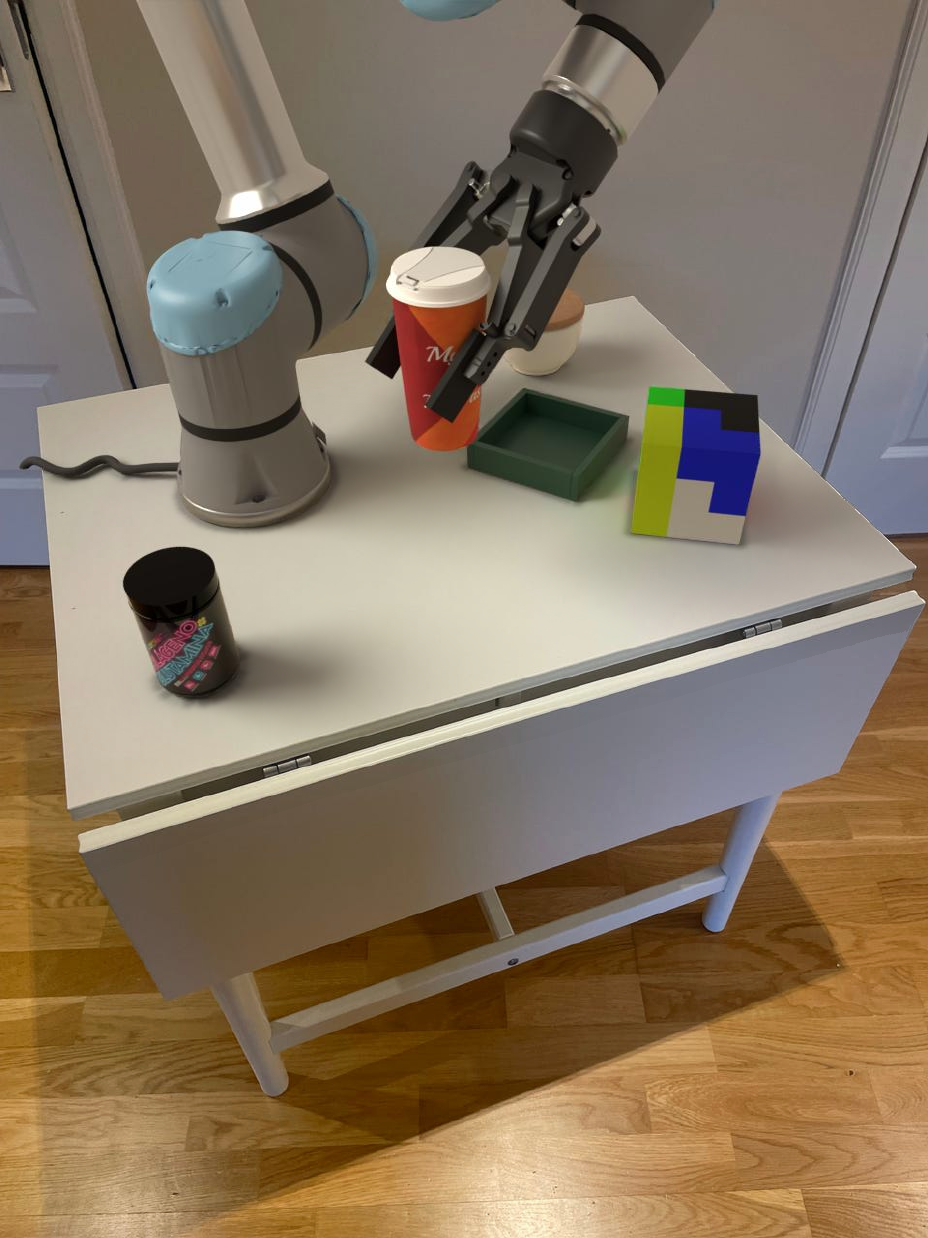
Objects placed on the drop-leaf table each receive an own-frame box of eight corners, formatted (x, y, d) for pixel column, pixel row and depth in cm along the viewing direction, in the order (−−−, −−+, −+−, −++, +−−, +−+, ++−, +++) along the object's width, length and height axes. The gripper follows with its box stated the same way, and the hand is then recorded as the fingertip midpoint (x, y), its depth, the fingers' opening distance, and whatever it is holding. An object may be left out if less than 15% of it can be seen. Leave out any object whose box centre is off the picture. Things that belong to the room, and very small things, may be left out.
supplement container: (140, 678, 74) (103, 582, 67) (203, 630, 78) (174, 535, 71) (196, 715, 71) (163, 618, 64) (259, 664, 75) (234, 567, 68)
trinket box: (475, 370, 110) (474, 294, 103) (522, 335, 116) (524, 262, 109) (551, 394, 105) (555, 317, 99) (596, 356, 111) (602, 282, 105)
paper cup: (447, 470, 71) (441, 299, 61) (378, 435, 75) (362, 268, 65) (511, 428, 75) (515, 261, 65) (442, 396, 79) (436, 233, 69)
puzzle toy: (738, 544, 85) (760, 453, 78) (630, 533, 86) (642, 442, 79) (737, 483, 92) (757, 394, 85) (637, 473, 93) (649, 386, 87)
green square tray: (467, 467, 95) (466, 442, 93) (522, 411, 103) (523, 387, 100) (577, 502, 90) (579, 476, 88) (626, 440, 98) (629, 415, 96)
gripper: (705, 187, 62) (517, 468, 67) (518, 121, 74) (370, 362, 79) (659, 117, 56) (456, 430, 61) (464, 57, 69) (307, 321, 73)
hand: (407, 391), depth 70 cm, fingers closed on paper cup, 8 cm apart
